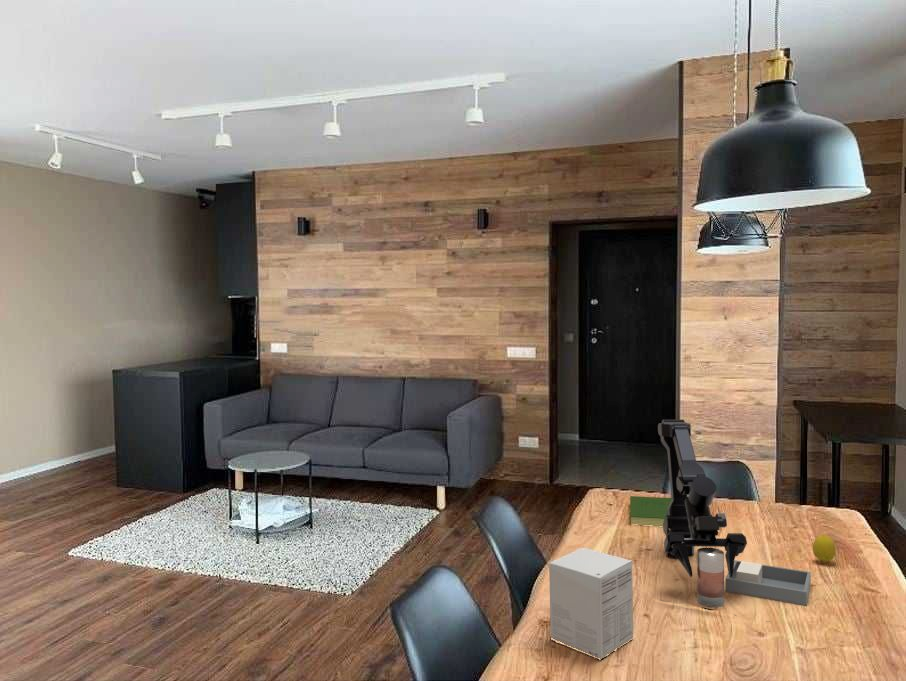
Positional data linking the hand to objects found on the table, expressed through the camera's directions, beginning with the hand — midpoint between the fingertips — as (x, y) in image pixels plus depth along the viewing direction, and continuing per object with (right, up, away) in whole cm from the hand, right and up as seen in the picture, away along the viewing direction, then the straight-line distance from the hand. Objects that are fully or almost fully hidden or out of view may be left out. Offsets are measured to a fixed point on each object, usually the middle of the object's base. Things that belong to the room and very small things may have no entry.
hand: (711, 576), depth 166 cm
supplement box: (-31, -9, -15) cm, 36 cm away
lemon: (+41, -5, +26) cm, 48 cm away
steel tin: (0, -7, +1) cm, 7 cm away
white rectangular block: (+14, -6, +11) cm, 19 cm away
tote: (+17, -7, +8) cm, 20 cm away
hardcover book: (+9, -4, +72) cm, 72 cm away
